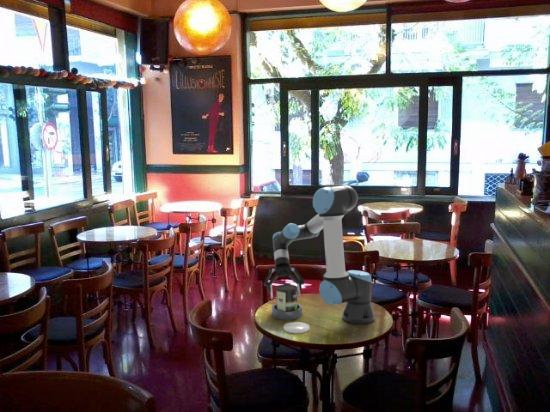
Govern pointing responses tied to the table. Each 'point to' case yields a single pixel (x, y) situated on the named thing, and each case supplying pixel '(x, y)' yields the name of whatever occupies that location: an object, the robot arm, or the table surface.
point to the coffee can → (286, 297)
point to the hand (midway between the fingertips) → (285, 297)
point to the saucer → (296, 327)
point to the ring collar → (286, 313)
